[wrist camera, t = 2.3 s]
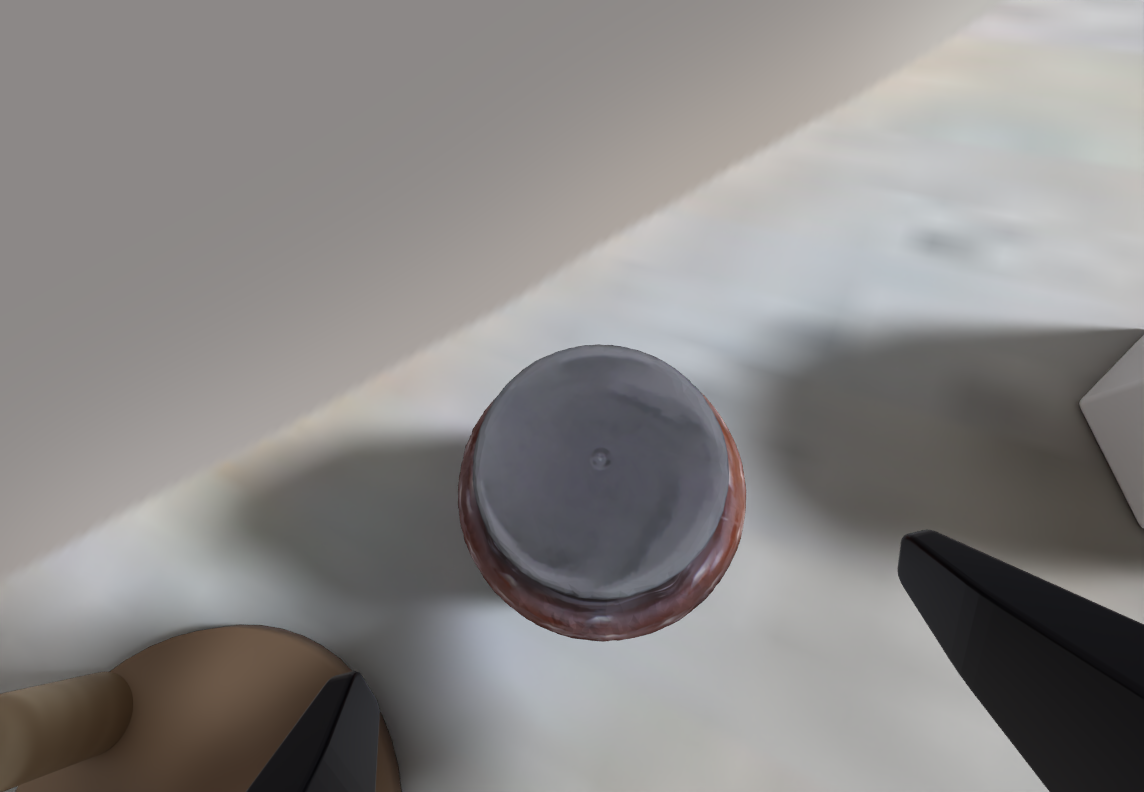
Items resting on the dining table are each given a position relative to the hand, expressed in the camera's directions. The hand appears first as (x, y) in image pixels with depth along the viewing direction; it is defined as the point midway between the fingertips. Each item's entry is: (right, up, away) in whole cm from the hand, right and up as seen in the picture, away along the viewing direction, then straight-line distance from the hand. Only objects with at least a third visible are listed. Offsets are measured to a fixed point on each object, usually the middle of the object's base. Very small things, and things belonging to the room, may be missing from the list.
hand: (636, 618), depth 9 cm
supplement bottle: (0, -1, +10) cm, 10 cm away
